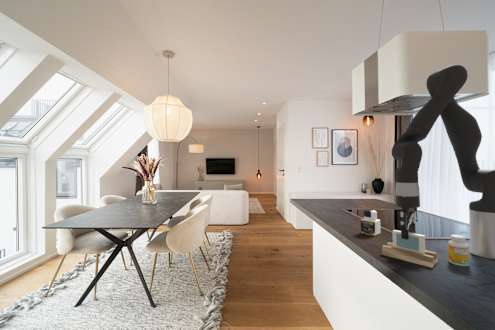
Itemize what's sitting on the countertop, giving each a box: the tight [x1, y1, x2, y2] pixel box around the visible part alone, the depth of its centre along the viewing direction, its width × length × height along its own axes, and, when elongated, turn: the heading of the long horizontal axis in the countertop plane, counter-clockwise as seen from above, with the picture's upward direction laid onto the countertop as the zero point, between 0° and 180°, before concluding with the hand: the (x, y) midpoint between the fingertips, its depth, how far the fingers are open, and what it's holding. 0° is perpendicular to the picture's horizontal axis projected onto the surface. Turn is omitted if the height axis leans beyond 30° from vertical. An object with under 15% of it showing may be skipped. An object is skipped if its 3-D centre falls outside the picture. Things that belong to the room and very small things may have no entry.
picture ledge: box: [381, 241, 439, 269], centre depth 88 cm, size 8×16×3 cm, turn 40°
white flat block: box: [392, 229, 426, 254], centre depth 88 cm, size 2×10×8 cm, turn 40°
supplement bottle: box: [447, 234, 470, 267], centre depth 83 cm, size 5×5×10 cm
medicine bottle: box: [360, 209, 381, 237], centre depth 120 cm, size 7×7×12 cm
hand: (408, 236), depth 88 cm, fingers open, 8 cm apart
